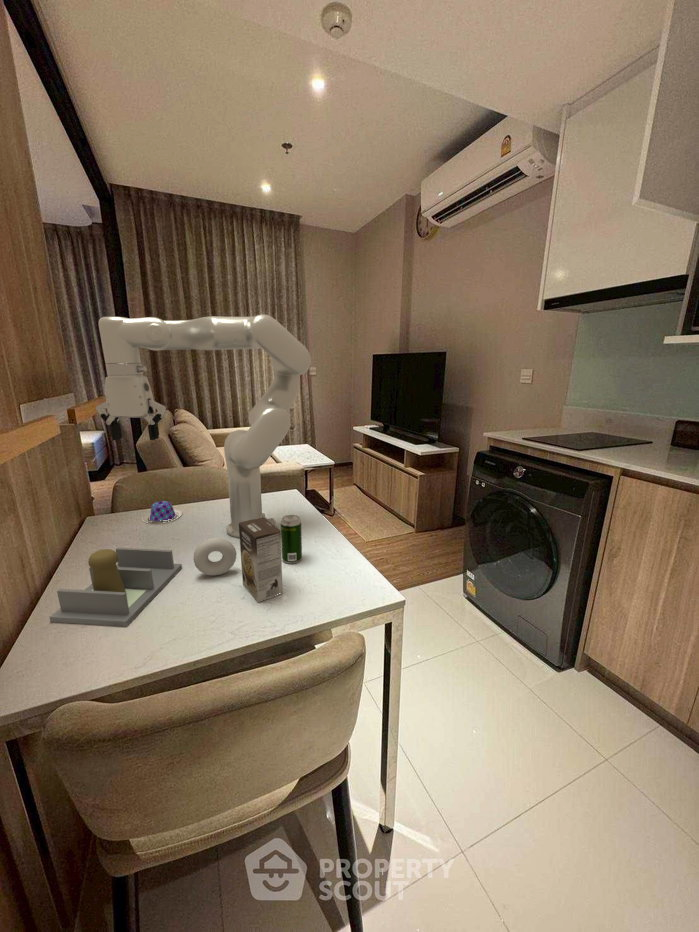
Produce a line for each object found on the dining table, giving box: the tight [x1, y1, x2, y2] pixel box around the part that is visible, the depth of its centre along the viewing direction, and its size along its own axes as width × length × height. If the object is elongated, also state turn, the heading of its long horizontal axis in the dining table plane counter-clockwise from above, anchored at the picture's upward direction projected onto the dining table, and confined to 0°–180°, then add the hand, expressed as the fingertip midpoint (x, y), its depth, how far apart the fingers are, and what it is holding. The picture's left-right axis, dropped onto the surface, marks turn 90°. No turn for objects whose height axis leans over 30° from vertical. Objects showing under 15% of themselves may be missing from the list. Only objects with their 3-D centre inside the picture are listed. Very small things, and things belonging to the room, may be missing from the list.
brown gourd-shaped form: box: [87, 548, 126, 592], centre depth 79 cm, size 6×6×11 cm
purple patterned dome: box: [142, 500, 183, 524], centre depth 125 cm, size 12×12×5 cm
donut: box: [193, 537, 238, 576], centre depth 91 cm, size 10×4×10 cm, turn 109°
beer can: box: [280, 514, 303, 565], centre depth 98 cm, size 5×5×12 cm
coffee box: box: [238, 517, 283, 603], centre depth 85 cm, size 9×6×16 cm
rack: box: [49, 547, 183, 628], centre depth 84 cm, size 16×22×6 cm
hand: (136, 439), depth 96 cm, fingers open, 9 cm apart
